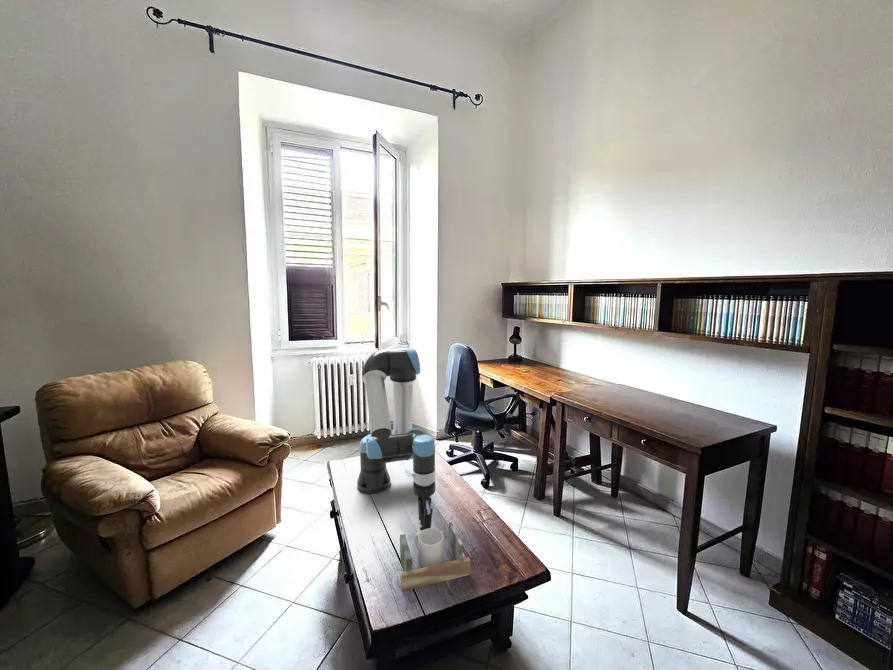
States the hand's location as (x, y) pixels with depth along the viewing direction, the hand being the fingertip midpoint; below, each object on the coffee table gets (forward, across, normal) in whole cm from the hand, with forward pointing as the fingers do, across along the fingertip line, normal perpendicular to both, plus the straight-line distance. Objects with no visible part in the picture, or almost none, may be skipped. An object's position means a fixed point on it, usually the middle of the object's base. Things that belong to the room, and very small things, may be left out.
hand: (425, 543), depth 128 cm
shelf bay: (+2, +10, 0) cm, 10 cm away
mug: (+2, +7, -1) cm, 7 cm away
